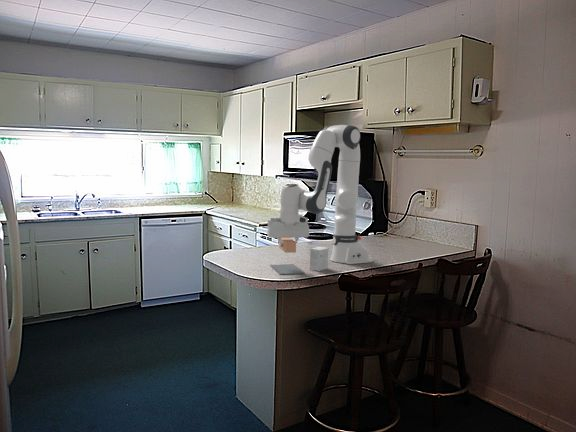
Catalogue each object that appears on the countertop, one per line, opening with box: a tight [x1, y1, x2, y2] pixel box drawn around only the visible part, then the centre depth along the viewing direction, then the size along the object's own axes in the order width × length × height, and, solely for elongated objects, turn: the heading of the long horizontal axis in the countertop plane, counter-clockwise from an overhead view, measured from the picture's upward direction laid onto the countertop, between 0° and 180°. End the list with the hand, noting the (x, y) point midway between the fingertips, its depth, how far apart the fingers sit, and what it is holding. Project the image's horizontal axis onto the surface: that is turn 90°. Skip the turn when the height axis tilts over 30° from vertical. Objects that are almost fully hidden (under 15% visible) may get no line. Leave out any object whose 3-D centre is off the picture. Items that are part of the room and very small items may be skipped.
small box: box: [309, 246, 329, 272], centre depth 239 cm, size 8×6×10 cm
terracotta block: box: [278, 238, 297, 253], centre depth 234 cm, size 5×5×12 cm
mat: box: [269, 263, 306, 276], centre depth 236 cm, size 12×18×1 cm, turn 17°
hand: (287, 246), depth 234 cm, fingers closed on terracotta block, 5 cm apart
